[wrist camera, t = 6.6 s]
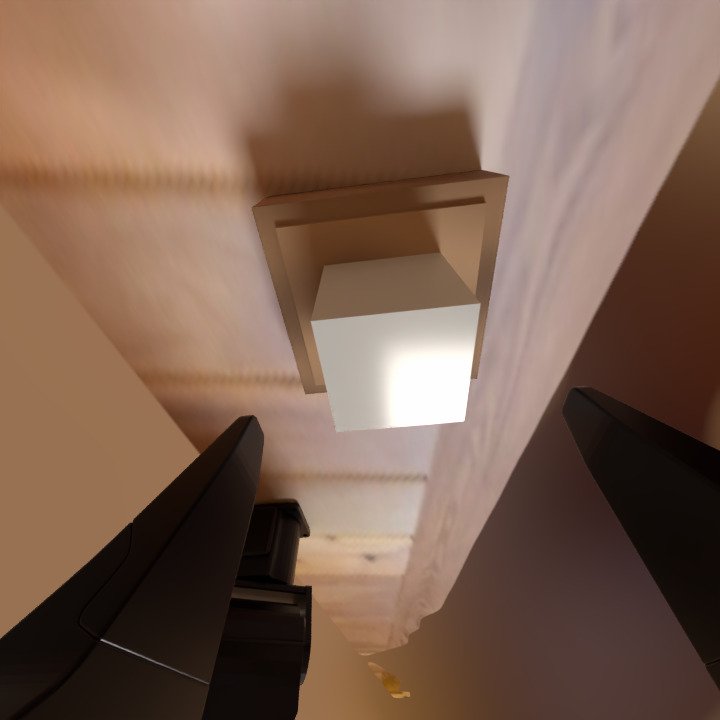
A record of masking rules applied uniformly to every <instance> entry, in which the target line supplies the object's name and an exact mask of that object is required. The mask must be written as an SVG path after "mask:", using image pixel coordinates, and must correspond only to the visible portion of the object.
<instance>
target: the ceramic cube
mask: <svg viewBox="0 0 720 720" xmlns="http://www.w3.org/2000/svg"><path fill="white" fill-rule="evenodd" d="M480 304H481V303H480V302H479V301H478V299H477V298H476V297H475V296H474V294H473V293H472V292H471V291H470V289H469V288H468V287H467V285H466V284H465V283H464V282H463V280H462V279H461V278H460V277H459V275H458V274H457V273H456V271H455V270H454V269H453V268H452V266H451V265H450V264H449V263H448V261H447V260H446V259H445V257H444V256H443V255H442V254H441V252H439V253H430V254H421V255H413V256H404V257H395V258H386V259H378V260H369V261H360V262H352V263H343V264H334V265H325V266H324V269H323V273H322V277H321V281H320V285H319V289H318V293H317V297H316V302H315V306H314V310H313V314H312V318H311V325H312V329H313V333H314V338H315V342H316V346H317V350H318V355H319V359H320V363H321V368H322V372H323V376H324V381H325V385H326V389H327V393H328V398H329V402H330V406H331V411H332V415H333V419H334V424H335V428H336V432H346V431H357V430H369V429H381V428H392V427H404V426H416V425H427V424H439V423H451V422H462V421H464V420H465V412H466V405H467V398H468V391H469V383H470V376H471V369H472V362H473V355H474V347H475V340H476V333H477V326H478V319H479V311H480Z"/></svg>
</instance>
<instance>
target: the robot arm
mask: <svg viewBox="0 0 720 720" xmlns="http://www.w3.org/2000/svg"><path fill="white" fill-rule="evenodd" d="M562 414H563V417H564V419H565V422H566V424H567V426H568V428H569V430H570V433H571V435H572V437H573V439H574V441H575V443H576V446H577V448H578V450H579V452H580V454H581V456H582V458H583V460H584V462H585V464H586V466H587V468H588V470H589V472H590V473H591V475H592V477H593V478H594V480H595V482H596V484H597V485H598V487H599V489H600V490H601V492H602V494H603V495H604V497H605V499H606V500H607V502H608V504H609V506H610V507H611V509H612V511H613V512H614V514H615V515H616V517H617V519H618V521H619V522H620V524H621V526H622V527H623V529H624V531H625V532H626V534H627V536H628V538H629V539H630V541H631V542H632V544H633V546H634V548H635V549H636V551H637V553H638V554H639V556H640V558H641V559H642V561H643V563H644V564H645V566H646V568H647V569H648V571H649V573H650V575H651V576H652V578H653V580H654V581H655V583H656V584H657V586H658V588H659V590H660V591H661V593H662V595H663V596H664V598H665V600H666V601H667V603H668V605H669V607H670V608H671V610H672V612H673V613H674V615H675V617H676V618H677V620H678V622H679V623H680V625H681V626H682V628H683V630H684V631H685V633H686V635H687V637H688V639H689V640H690V642H691V644H692V645H693V647H694V649H695V650H696V652H697V654H698V655H699V657H700V659H701V660H702V662H703V663H704V664H705V668H706V669H707V671H708V673H709V674H710V676H711V678H712V679H713V681H714V683H715V685H716V686H717V688H718V690H719V691H720V451H719V450H717V449H715V448H713V447H711V446H709V445H707V444H705V443H703V442H701V441H699V440H697V439H695V438H693V437H691V436H689V435H687V434H685V433H683V432H681V431H679V430H677V429H675V428H673V427H671V426H669V425H667V424H665V423H663V422H661V421H659V420H657V419H655V418H652V417H651V416H648V415H646V414H644V413H642V412H640V411H638V410H636V409H634V408H632V407H630V406H628V405H626V404H624V403H622V402H620V401H618V400H616V399H614V398H612V397H610V396H608V395H606V394H604V393H602V392H600V391H598V390H596V389H594V388H592V387H589V386H580V387H573V388H571V389H570V390H569V392H568V395H567V397H566V400H565V402H564V405H563V408H562ZM263 445H264V434H263V431H262V429H261V427H260V424H259V422H258V420H257V418H256V417H255V416H254V415H248V416H241V417H239V418H238V419H237V420H236V421H235V422H234V423H233V424H232V425H231V426H230V427H229V428H227V429H226V430H225V431H224V432H223V433H222V434H221V435H220V436H219V437H218V438H217V439H216V440H215V441H214V442H213V443H212V444H211V445H210V446H209V447H208V448H207V449H206V450H205V451H204V452H203V453H202V454H201V455H200V456H199V457H198V458H196V459H195V460H194V462H193V463H192V464H190V465H189V466H188V467H187V468H186V469H185V470H184V471H183V472H182V473H181V474H180V475H179V476H178V477H177V478H176V479H175V480H174V481H173V482H172V483H171V484H170V485H169V486H168V487H167V488H165V490H163V491H162V492H161V493H160V494H159V495H158V496H157V497H156V498H155V499H154V500H153V501H152V502H151V503H150V504H149V505H148V506H147V507H146V508H145V509H144V510H143V511H142V512H141V513H140V514H139V515H138V516H137V517H136V518H134V520H133V523H129V524H128V525H127V526H126V527H125V528H124V529H123V530H122V531H121V532H120V533H119V534H118V535H117V536H116V537H115V538H114V539H113V540H111V541H110V542H109V543H108V544H107V545H106V546H105V547H104V548H103V549H102V550H101V551H100V552H99V553H98V554H97V555H96V556H94V557H93V559H91V560H90V561H89V562H88V563H87V564H86V565H84V566H83V567H82V568H81V569H80V570H79V571H78V572H77V573H75V574H74V575H73V576H72V577H71V578H70V579H69V580H68V581H66V582H65V583H64V584H63V585H62V586H61V587H60V588H58V589H57V590H56V591H55V592H54V593H53V594H51V595H50V596H49V597H48V598H47V599H46V600H44V602H42V603H41V604H40V605H39V606H38V607H36V608H35V609H34V610H33V611H32V612H31V613H29V614H28V615H27V616H26V617H25V618H24V619H22V620H21V621H20V622H19V623H18V624H17V625H16V626H14V627H13V628H12V629H11V630H10V631H9V632H8V633H6V634H5V635H4V636H3V637H2V638H1V639H0V720H294V719H295V717H296V715H297V712H298V700H299V688H300V685H302V684H303V682H304V680H305V676H306V673H307V669H308V663H309V657H310V648H311V610H312V609H311V608H312V586H296V585H293V582H294V575H295V568H296V561H297V554H298V546H299V539H300V538H303V537H309V536H310V530H309V527H308V525H307V523H306V520H305V518H304V516H303V513H302V511H301V509H300V506H299V505H298V504H296V503H290V504H276V505H262V506H254V503H255V499H256V494H257V489H258V483H259V476H260V468H261V461H262V453H263Z"/></svg>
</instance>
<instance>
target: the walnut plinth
mask: <svg viewBox="0 0 720 720" xmlns="http://www.w3.org/2000/svg"><path fill="white" fill-rule="evenodd" d="M508 181H509V176H508V175H503V174H498V173H494V172H489V171H484V170H478V171H470V172H462V173H454V174H446V175H438V176H430V177H422V178H414V179H406V180H398V181H390V182H382V183H374V184H366V185H358V186H350V187H342V188H334V189H326V190H318V191H310V192H302V193H294V194H286V195H278V196H270V197H268V198H266V199H264V200H263V201H261V202H260V203H258V204H257V205H255V206H253V207H252V211H253V214H254V218H255V221H256V225H257V228H258V232H259V235H260V239H261V242H262V246H263V249H264V253H265V256H266V260H267V263H268V266H269V270H270V273H271V277H272V280H273V284H274V287H275V291H276V294H277V298H278V301H279V305H280V308H281V311H282V315H283V318H284V322H285V325H286V329H287V332H288V336H289V339H290V343H291V346H292V350H293V353H294V356H295V360H296V363H297V367H298V370H299V374H300V377H301V381H302V384H303V388H304V391H305V394H313V393H324V392H327V389H326V385H325V381H324V376H323V372H322V368H321V363H320V359H319V355H318V350H317V346H316V342H315V338H314V333H313V329H312V325H311V318H312V314H313V310H314V306H315V302H316V297H317V293H318V289H319V285H320V281H321V277H322V273H323V269H324V266H325V265H334V264H343V263H352V262H360V261H369V260H378V259H386V258H395V257H404V256H413V255H421V254H430V253H439V252H441V254H442V255H443V256H444V257H445V259H446V260H447V261H448V263H449V264H450V265H451V266H452V268H453V269H454V270H455V271H456V273H457V274H458V275H459V277H460V278H461V279H462V280H463V282H464V283H465V284H466V285H467V287H468V288H469V289H470V291H471V292H472V293H473V294H474V296H475V297H476V298H477V299H478V301H479V302H480V303H481V304H480V311H479V319H478V326H477V333H476V340H475V347H474V355H473V362H472V369H471V376H470V379H477V376H478V370H479V363H480V357H481V351H482V344H483V338H484V332H485V326H486V319H487V313H488V307H489V300H490V294H491V288H492V281H493V275H494V269H495V263H496V256H497V250H498V244H499V237H500V231H501V225H502V218H503V212H504V206H505V200H506V193H507V187H508Z"/></svg>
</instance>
